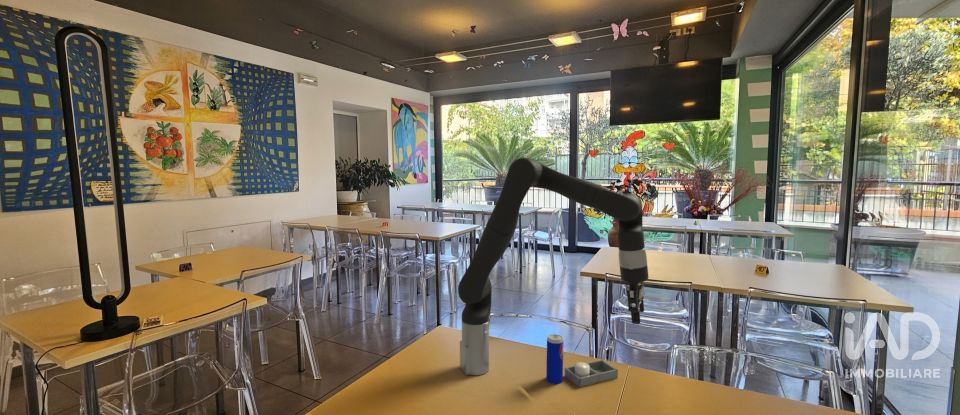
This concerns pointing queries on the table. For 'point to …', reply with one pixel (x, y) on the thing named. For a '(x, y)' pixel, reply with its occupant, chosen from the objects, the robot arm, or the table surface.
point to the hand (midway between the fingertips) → (638, 317)
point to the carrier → (593, 373)
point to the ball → (582, 369)
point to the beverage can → (554, 359)
